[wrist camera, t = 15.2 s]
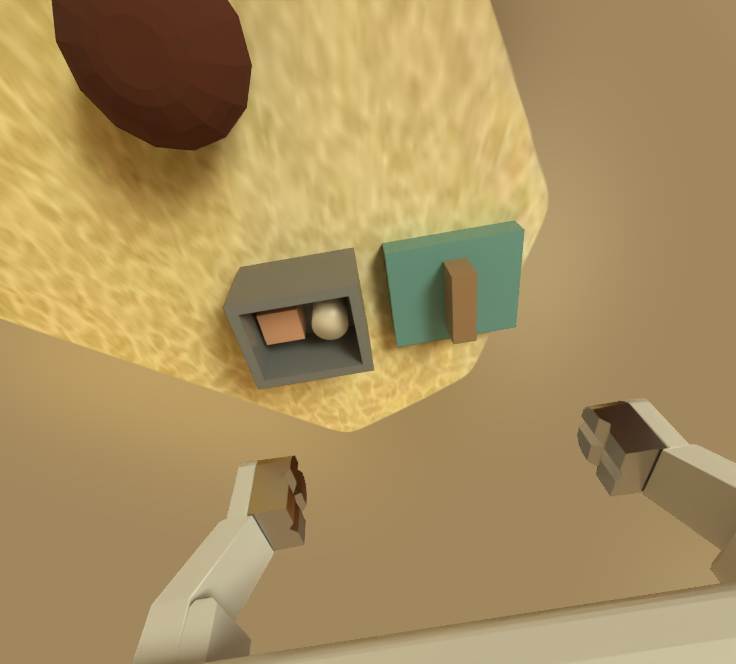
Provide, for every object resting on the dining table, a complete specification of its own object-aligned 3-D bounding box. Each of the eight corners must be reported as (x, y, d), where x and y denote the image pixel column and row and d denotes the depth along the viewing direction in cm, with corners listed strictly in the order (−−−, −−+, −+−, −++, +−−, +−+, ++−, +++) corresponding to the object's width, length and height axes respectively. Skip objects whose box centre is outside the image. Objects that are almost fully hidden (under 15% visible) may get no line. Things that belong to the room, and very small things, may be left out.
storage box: (268, 343, 47) (258, 389, 40) (239, 267, 41) (222, 307, 34) (367, 326, 46) (374, 370, 40) (353, 247, 41) (358, 284, 34)
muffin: (288, 26, 30) (272, 15, 22) (236, 161, 35) (208, 193, 27) (120, -92, 26) (23, -161, 18) (89, 80, 31) (3, 89, 23)
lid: (394, 334, 47) (401, 366, 42) (382, 243, 41) (389, 269, 36) (507, 315, 47) (528, 345, 42) (514, 220, 40) (540, 243, 35)
